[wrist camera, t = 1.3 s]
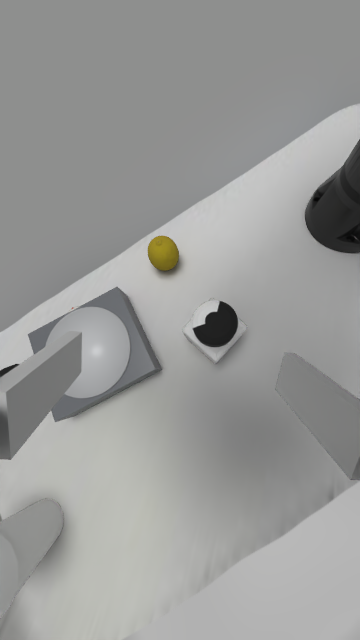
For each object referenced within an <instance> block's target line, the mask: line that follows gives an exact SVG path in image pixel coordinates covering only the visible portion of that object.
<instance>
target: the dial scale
mask: <svg viewBox="0 0 360 640" xmlns="http://www.w3.org/2000/svg"><path fill="white" fill-rule="evenodd" d="M68 331H77V332H82V366H81V373H80V375H79V376H78V377H77V378H76V380H75V381H74V382H73V383H72V385H71V386H70V387H69V388H68V390H67V391H66V392H65V393H64V394H63V396H62V397H61V398H60V399H59V401H58V402H57V403H56V404H55V406H54V407H53V408H52V409H51V411H52V414H53V417H54V420H55V422H57V421H60V420H64V419H67V418H70V417H73V416H75V415H77V414H79V413H81V412H83V411H85V410H87V409H88V408H90V407H92V406H94V405H96V404H98V403H100V402H102V401H104V400H106V399H107V398H109V397H111V396H113V395H115V394H117V393H119V392H121V391H123V390H124V389H126V388H128V387H130V386H132V385H134V384H136V383H138V382H140V381H141V380H143V379H145V378H147V377H149V376H151V375H153V374H155V373H157V372H158V371H160V370H162V369H161V366H160V364H159V362H158V360H157V358H156V356H155V354H154V352H153V349H152V347H151V345H150V343H149V341H148V339H147V337H146V335H145V332H144V330H143V328H142V326H141V324H140V322H139V320H138V317H137V315H136V313H135V311H134V309H133V307H132V305H131V303H130V300H129V298H128V296H127V295H126V294H125V293H124V292H123V291H121V290H120V289H119V288H118V287H116V288H114V289H112V290H110V291H108V292H106V293H104V294H103V295H101V296H99V297H97V298H95V299H93V300H91V301H89V302H88V303H86V304H84V305H82V306H78V307H75V308H72V309H71V310H70V311H69V312H68V313H67V314H65V315H63V316H61V317H59V318H58V319H56V320H54V321H52V322H50V323H48V324H46V325H44V326H43V327H41V328H39V329H37V330H35V331H33V332H31V333H29V334H28V336H29V339H30V343H31V346H32V349H33V352H34V354H36V353H37V352H39V351H40V350H42V349H43V348H45V347H46V346H48V345H49V344H51V343H52V342H53V341H55V340H56V339H58V338H59V337H61V336H62V335H64V334H65V333H67V332H68Z"/></svg>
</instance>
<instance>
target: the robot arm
mask: <svg viewBox="0 0 360 640" xmlns="http://www.w3.org/2000/svg"><path fill="white" fill-rule="evenodd" d="M305 219H306V224H307V227H308V229H309V231H310V232H311V234H312V235H313V236H314V237H315V238H316V239H317V240H318V241H319V242H320V243H322V244H323V245H325V246H327V247H329V248H331V249H334V250H337V251H341V252H348V253H356V252H360V140H359V141H358V143H357V144H356V146H355V147H354V149H353V151H352V152H351V154H350V155H349V157H348V159H347V160H346V162H345V163H344V165H343V166H342V167H341V168H340V169H339V170H338V171H336V172H335V173H334V174H333V175H332V176H331V177H329V178H328V179H327V180H326V181H325V182H324V183H323V184H321V185H320V186H319V187H318V189H317V190H316V191H315V192H314V194H313V196H312V197H311V199H310V201H309V203H308V205H307V208H306V212H305ZM81 366H82V332H77V331H68V332H67V333H65V334H64V335H62V336H61V337H59V338H58V339H56V340H55V341H53V342H52V343H51V344H49V345H48V346H46V347H45V348H43V349H42V350H40V351H39V352H37V353H36V354H34V355H33V356H31V357H30V358H28V359H27V360H25V361H24V362H23V363H21V364H15V365H12V366H9V367H7V368H4V369H2V370H1V371H0V459H8V460H11V459H12V458H13V457H14V455H15V454H16V453H17V452H18V450H19V449H20V448H21V447H22V445H23V444H24V443H25V442H26V440H27V439H28V438H29V437H30V435H31V434H32V433H33V432H34V430H35V429H36V428H37V427H38V426H39V424H40V423H41V422H42V421H43V419H44V418H45V417H46V416H47V414H48V413H49V412H50V411H51V409H52V408H53V407H54V406H55V404H56V403H57V402H58V401H59V399H60V398H61V397H62V396H63V394H64V393H65V392H66V391H67V390H68V388H69V387H70V386H71V385H72V383H73V382H74V381H75V380H76V378H77V377H78V376H79V375H80V373H81ZM275 390H276V391H277V392H278V393H279V394H280V396H281V397H282V398H283V399H284V401H285V402H286V403H287V404H288V405H289V407H290V408H291V409H292V410H293V411H294V413H295V414H296V415H297V416H298V417H299V419H300V420H301V421H302V422H303V423H304V425H305V426H306V427H307V428H308V429H309V431H310V432H311V433H312V434H313V435H314V437H315V438H316V439H317V440H318V441H319V443H320V444H321V445H322V446H323V447H324V449H325V450H326V451H327V452H328V453H329V455H330V456H331V457H332V458H333V459H334V461H335V462H336V463H337V464H338V465H339V467H340V468H341V469H342V470H343V471H344V473H345V474H346V475H347V476H348V477H349V479H350V480H360V400H359V399H358V398H356V397H355V396H354V395H352V394H351V393H349V392H348V391H347V390H345V389H344V388H342V387H341V386H340V385H338V384H337V383H336V382H334V381H333V380H331V379H330V378H329V377H327V376H326V375H324V374H323V373H322V372H320V371H319V370H318V369H316V368H315V367H313V366H312V365H311V364H309V363H308V362H307V361H305V360H304V359H302V358H301V357H300V356H298V355H297V354H294V353H284V357H283V361H282V365H281V369H280V373H279V377H278V381H277V385H276V388H275Z"/></svg>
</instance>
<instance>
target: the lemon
mask: <svg viewBox="0 0 360 640" xmlns="http://www.w3.org/2000/svg"><path fill="white" fill-rule="evenodd" d="M148 257H149V260H150V262H151V263H152V265H153V266H154V267H156V268H157V269H159V270H162V271H166V270H170V269H172V268H173V267H174V266H175V265H176V264H177V262H178V258H179V251H178V248H177V246H176V244H175V243H174V241H173V240H172V239H170V238H169V237H166V236H158V237H155V238H154V239H153V240H152V241H151V242H150V243H149V246H148Z"/></svg>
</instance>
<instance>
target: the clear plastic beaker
mask: <svg viewBox="0 0 360 640" xmlns="http://www.w3.org/2000/svg"><path fill="white" fill-rule="evenodd" d="M63 524H64V519H63V511H62V509H61V507H60V505H59V504H58V503H57V502H56V501H54V500H53V499H46V498H45V499H43V500H41V501H39V502H37V503H35V504H33V505H31V506H29V507H27V508H25V509H23V510H21V511H20V512H18V513H16V514H14V515H12V516H10V517H8V518H7V519H5V520H3V521H1V522H0V618H1V617H2V616H3V615H4V613H5V612H6V611H7V610H8V609H9V607H10V606H11V603H12V600H13V599H14V598H15V596H16V595H17V593H18V592H19V591H20V589H21V588H22V586H23V585H24V584H25V582H26V581H27V579H28V578H29V577H30V575H31V574H32V572H33V571H34V570H35V568H36V567H37V565H38V564H39V563H40V561H41V560H42V558H43V557H44V556H45V554H46V553H47V551H48V550H49V549H50V547H51V546H52V544H53V543H54V542H55V540H56V539H57V537H58V536H59V534H60V533H61V530H62V527H63Z"/></svg>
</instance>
